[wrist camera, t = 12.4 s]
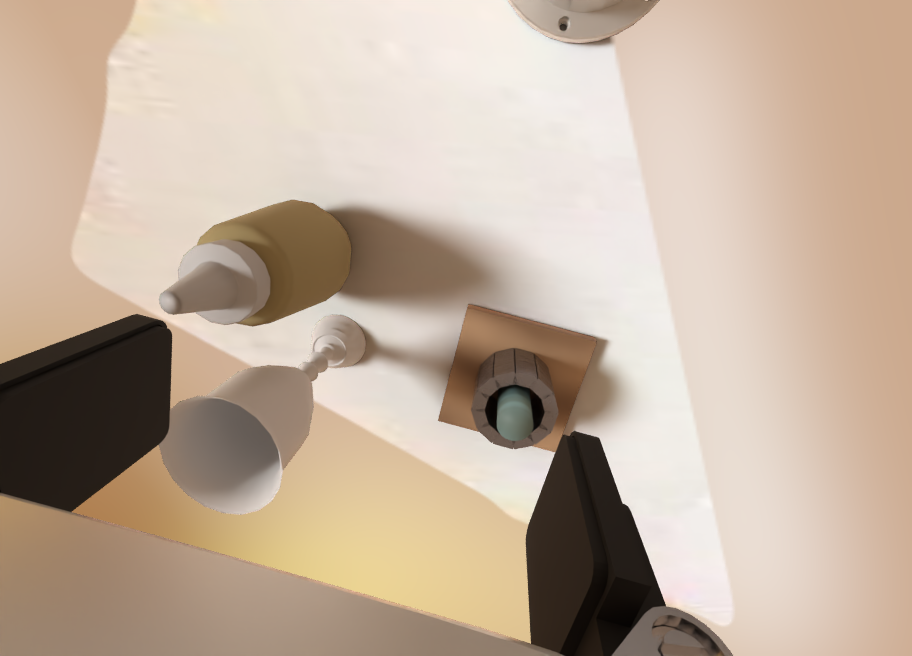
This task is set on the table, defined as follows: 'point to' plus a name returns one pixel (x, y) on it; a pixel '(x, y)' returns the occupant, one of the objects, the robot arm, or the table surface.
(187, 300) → the squeeze bottle
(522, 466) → the table surface
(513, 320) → the post stand
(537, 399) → the ring
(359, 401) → the table surface
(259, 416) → the chalice
